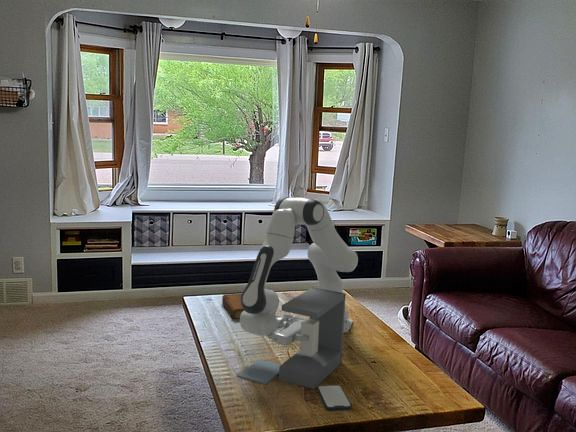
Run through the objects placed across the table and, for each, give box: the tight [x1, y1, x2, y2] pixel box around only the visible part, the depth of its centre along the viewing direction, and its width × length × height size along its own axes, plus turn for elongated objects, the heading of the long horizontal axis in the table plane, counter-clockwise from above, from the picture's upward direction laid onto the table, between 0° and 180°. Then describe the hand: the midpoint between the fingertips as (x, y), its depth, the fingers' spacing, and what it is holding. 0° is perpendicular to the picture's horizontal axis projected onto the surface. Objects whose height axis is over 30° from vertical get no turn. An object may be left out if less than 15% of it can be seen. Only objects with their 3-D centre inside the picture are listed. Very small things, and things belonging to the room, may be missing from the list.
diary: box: [221, 292, 245, 321], centre depth 275 cm, size 23×19×6 cm
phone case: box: [316, 384, 352, 412], centre depth 191 cm, size 9×2×16 cm
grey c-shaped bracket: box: [278, 287, 346, 390], centre depth 209 cm, size 26×14×28 cm, turn 153°
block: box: [299, 317, 319, 356], centre depth 208 cm, size 5×5×12 cm
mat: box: [236, 358, 281, 385], centre depth 209 cm, size 16×12×1 cm
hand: (311, 335), depth 208 cm, fingers closed on block, 5 cm apart
